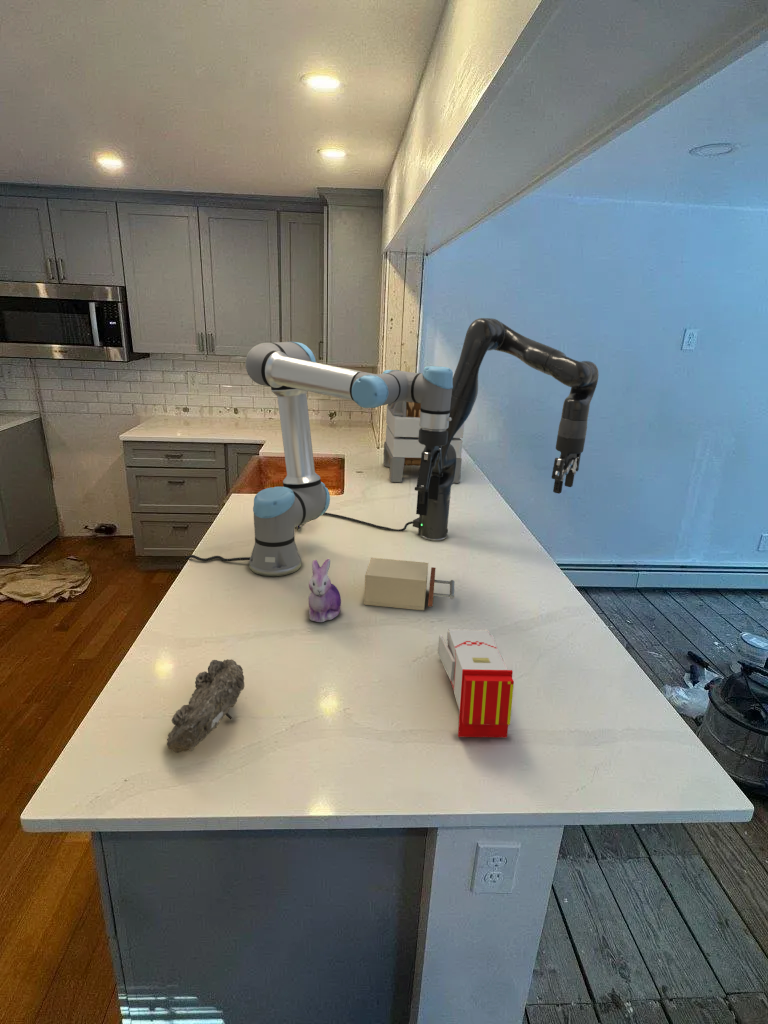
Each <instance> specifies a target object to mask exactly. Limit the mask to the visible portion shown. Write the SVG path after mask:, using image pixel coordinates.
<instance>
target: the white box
mask: <svg viewBox="0 0 768 1024" xmlns="http://www.w3.org/2000/svg"><path fill="white" fill-rule="evenodd" d="M420 411H421V403H415V402H406V401H400V402H396V403H391V404H387V405H386V413H385V414H386V415H385V423H386V428H385V438H384V442H383V466H384V467H388V468H389V475H388V476H389V477H388V478H389V480H390V482H391V483H402V482H403V475H404V469H405V466H406V467H407V466H411V467H412V466H413V467H415V466H416V467H417V466H418V467H420V464H421V456H422V455H421V453H422V452H423V450H424V448H425V445H422V444H420V443H419V441H418V438H419V429H420V428H421V427H420V426H419V422H420ZM464 429H465V422H464V423H463V425H462V426H461V427H460V429H459V430H458V431H457V432H456V434H455V435H454V437H453V439H452V440H451V443H450V444H451V445H452V446H453V447H454V449H455V451H456V456H457V460H456V469H455V476H454V481H453V484H455V483H456V484H459V483H461V472H462V461H463V460H462V453H463V442H464V441H463V440H462V439H463V438H464V431H465V430H464Z"/></svg>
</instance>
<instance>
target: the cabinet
mask: <svg viewBox="0 0 768 1024" xmlns="http://www.w3.org/2000/svg"><path fill="white" fill-rule="evenodd" d="M428 575H429V562H424V561H423V562H422V561H415V560H413V561H412V560H403V559H402V560H401V559H391V558H379V557H370V558H369V562H368V565H367V568H366V571H365V574H364V590H363V591H364V593H363V605H366V606H373V607H375V606H376V607H384V608H385V607H386V608H396V609H407V610H414V611H415V610H416V611H425V606H426V596H427V587H428Z"/></svg>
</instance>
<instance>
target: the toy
mask: <svg viewBox="0 0 768 1024" xmlns="http://www.w3.org/2000/svg"><path fill="white" fill-rule="evenodd" d="M446 640H447V643H446V641H445V639H444V636H443V635H442V634H439V637H438V646H437V656H438V657H439V659H440V661H441V663H442V666H443V668H444V670H445V672H446V674H447V677H448V679H449V681H450V684H451V687H452V690H453V693H454V697H455V701H456V705H457V708H458V711H459V714H458V715H459V716H458V730H457V731H458V732H457V737H458V738H508V731H509V726H510V725H511V717H512V707H513V697H514V696H513V695H514V684H515V680H514V679H513V673H514V671H513V670H512V669H508V667H507V665H506V662H505V661H504V659H503V658H502V655H501V653H500V651H499V649H498V647H497V643H496V639H495V637H494V635H493V634H491V632H490V631H489V629H467V628H466V629H465V628H463V629H461V628H460V629H459V628H448V630H447V639H446Z"/></svg>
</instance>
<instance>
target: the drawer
mask: <svg viewBox="0 0 768 1024" xmlns="http://www.w3.org/2000/svg"><path fill="white" fill-rule="evenodd" d="M436 569H437V568H436V567H432V566H431V567H430V577H429V587H428V588H429V589H428V600H427V607H429V608H432V607H433V605H434V604H433V603H434V597H439V598H440V597H441V598H442V597H443V598H449V599H450V600H454V599H455V597H456V596H455V595H456V594H455V592H456V590H455V587H456V586H455V585H456V584H455V580H453V579H451V580H441V579H436ZM435 584H445V585H449V594H448V593H440V592H439V593H437V592H435Z"/></svg>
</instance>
